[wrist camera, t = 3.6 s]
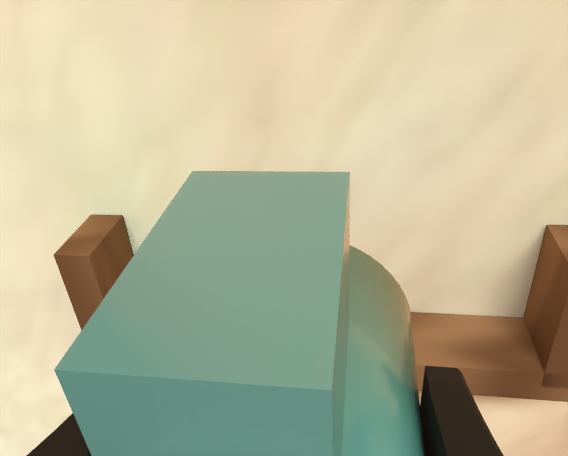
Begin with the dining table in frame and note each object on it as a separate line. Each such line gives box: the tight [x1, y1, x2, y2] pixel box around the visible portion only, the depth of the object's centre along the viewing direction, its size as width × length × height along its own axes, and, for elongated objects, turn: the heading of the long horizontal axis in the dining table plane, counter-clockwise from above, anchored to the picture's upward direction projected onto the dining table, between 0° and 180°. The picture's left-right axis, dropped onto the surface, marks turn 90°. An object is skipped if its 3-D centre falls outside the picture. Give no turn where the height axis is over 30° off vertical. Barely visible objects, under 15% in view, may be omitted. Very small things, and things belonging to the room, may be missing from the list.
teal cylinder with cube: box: [55, 171, 425, 456], centre depth 8 cm, size 6×8×8 cm
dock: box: [54, 215, 568, 402], centre depth 17 cm, size 16×5×2 cm, turn 93°
